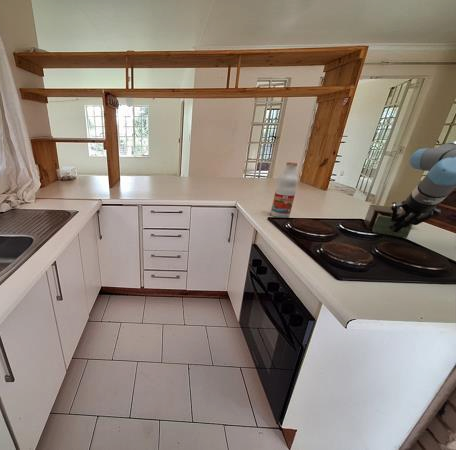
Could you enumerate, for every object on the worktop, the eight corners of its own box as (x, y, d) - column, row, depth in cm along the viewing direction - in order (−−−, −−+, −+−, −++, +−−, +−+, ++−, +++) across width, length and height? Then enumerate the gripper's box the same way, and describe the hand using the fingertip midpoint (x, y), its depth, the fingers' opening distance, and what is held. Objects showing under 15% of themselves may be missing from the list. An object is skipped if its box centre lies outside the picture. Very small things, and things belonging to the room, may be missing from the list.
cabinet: (403, 235, 106) (412, 215, 103) (367, 229, 113) (374, 210, 109) (396, 227, 117) (403, 208, 114) (363, 221, 124) (370, 204, 121)
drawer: (407, 239, 99) (415, 221, 97) (372, 232, 105) (378, 216, 103) (399, 229, 111) (405, 214, 108) (368, 224, 117) (373, 209, 114)
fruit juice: (289, 214, 130) (301, 162, 120) (289, 219, 122) (303, 164, 112) (270, 212, 134) (281, 161, 124) (269, 216, 126) (281, 162, 116)
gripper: (398, 202, 81) (373, 233, 100) (454, 209, 74) (416, 241, 93) (401, 185, 83) (376, 218, 102) (455, 190, 77) (418, 225, 95)
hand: (395, 229), depth 98 cm, fingers closed
